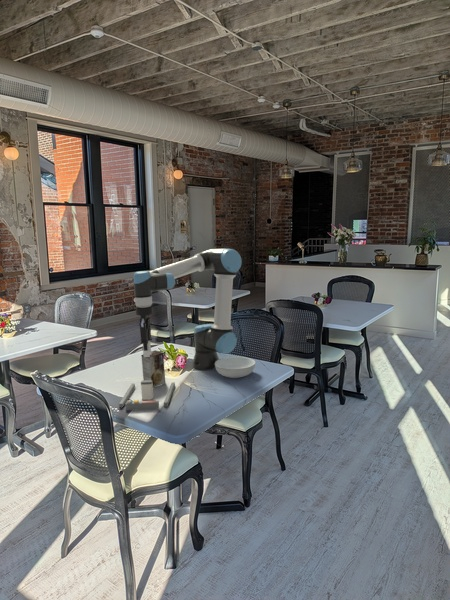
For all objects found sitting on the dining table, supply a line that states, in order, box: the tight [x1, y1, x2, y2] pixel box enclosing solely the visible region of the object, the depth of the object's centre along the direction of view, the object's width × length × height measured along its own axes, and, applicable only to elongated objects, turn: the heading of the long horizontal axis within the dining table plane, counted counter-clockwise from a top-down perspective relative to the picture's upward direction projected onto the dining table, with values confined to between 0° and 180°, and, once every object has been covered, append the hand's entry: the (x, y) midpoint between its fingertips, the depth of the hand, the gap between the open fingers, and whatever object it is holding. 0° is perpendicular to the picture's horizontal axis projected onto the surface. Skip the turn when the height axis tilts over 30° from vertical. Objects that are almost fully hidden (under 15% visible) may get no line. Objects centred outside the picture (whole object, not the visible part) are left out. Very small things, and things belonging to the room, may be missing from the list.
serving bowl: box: [215, 356, 256, 379], centre depth 226 cm, size 21×21×7 cm
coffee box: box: [141, 350, 166, 389], centre depth 216 cm, size 9×6×16 cm
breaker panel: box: [118, 382, 176, 411], centre depth 201 cm, size 21×26×4 cm
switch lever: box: [140, 379, 154, 401], centre depth 199 cm, size 5×4×8 cm
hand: (147, 355), depth 202 cm, fingers open, 3 cm apart
